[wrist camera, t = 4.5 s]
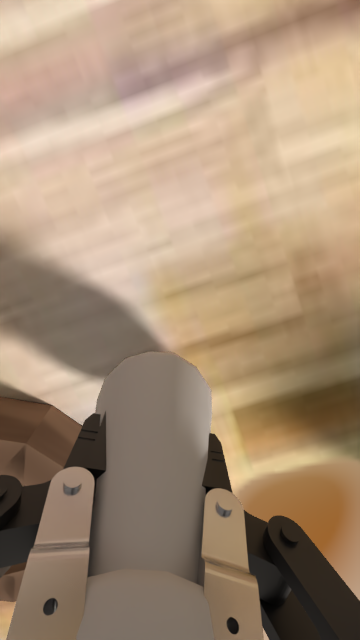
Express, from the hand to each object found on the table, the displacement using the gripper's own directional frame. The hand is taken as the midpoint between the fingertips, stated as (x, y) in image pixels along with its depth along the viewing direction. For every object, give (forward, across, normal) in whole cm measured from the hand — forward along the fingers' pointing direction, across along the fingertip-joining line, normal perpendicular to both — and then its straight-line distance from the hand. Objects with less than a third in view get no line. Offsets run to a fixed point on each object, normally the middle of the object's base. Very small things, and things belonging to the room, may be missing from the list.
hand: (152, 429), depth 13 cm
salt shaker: (+4, 0, 0) cm, 4 cm away
